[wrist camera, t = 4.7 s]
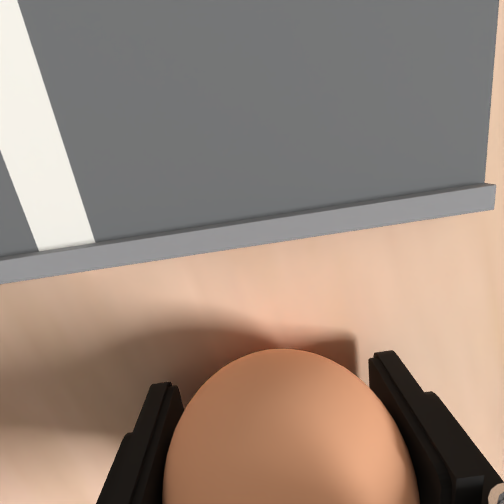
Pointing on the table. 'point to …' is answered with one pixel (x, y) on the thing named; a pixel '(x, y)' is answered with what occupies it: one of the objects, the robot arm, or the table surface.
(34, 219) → the lane
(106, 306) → the table surface
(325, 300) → the table surface
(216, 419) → the ball
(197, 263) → the table surface
